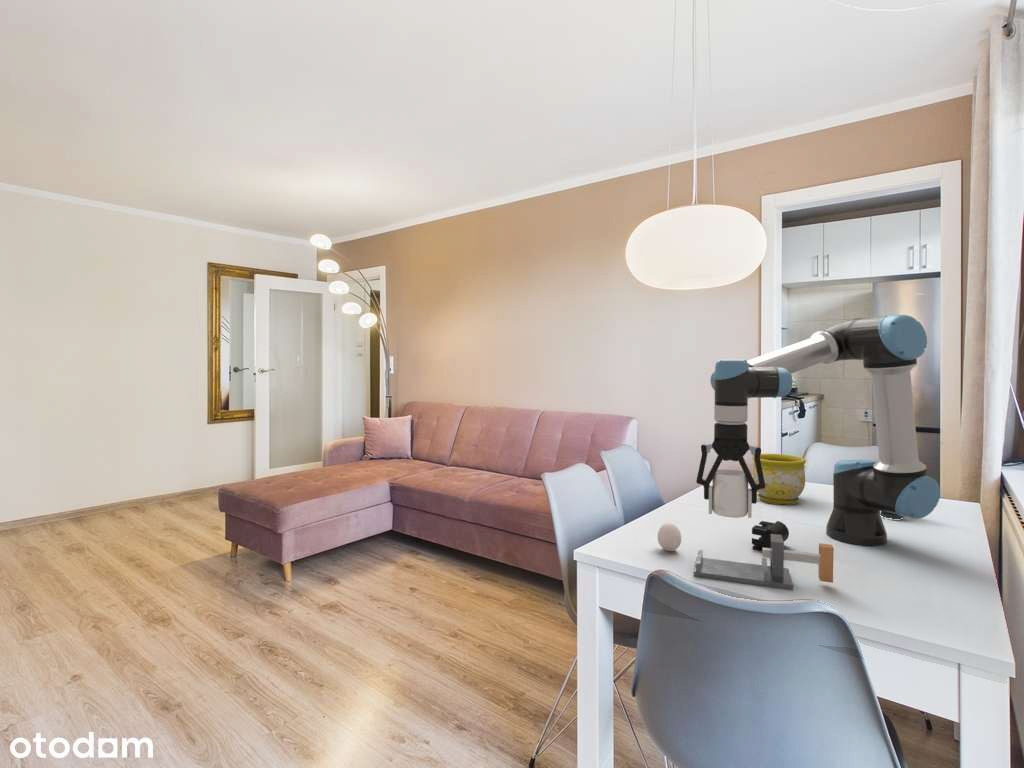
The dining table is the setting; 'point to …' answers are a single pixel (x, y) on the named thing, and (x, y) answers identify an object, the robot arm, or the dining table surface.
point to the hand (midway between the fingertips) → (729, 514)
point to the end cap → (768, 534)
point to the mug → (730, 493)
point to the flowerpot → (781, 478)
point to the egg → (669, 536)
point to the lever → (811, 559)
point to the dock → (748, 569)
